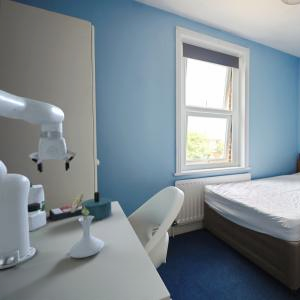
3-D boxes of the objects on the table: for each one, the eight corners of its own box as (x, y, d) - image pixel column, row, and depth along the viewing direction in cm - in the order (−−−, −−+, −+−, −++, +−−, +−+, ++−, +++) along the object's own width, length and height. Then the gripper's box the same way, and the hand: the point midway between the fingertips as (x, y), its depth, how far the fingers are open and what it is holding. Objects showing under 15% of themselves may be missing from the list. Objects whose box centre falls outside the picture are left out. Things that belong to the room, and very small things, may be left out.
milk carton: (22, 219, 112) (19, 183, 110) (44, 215, 118) (42, 180, 117) (23, 224, 106) (20, 185, 104) (46, 219, 112) (44, 183, 111)
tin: (112, 218, 114) (111, 203, 113) (82, 224, 106) (81, 208, 106) (110, 211, 125) (110, 197, 125) (83, 215, 118) (82, 201, 117)
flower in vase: (74, 247, 84) (72, 187, 82) (106, 242, 88) (104, 184, 86) (62, 266, 72) (59, 196, 70) (100, 260, 76) (97, 193, 74)
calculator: (86, 207, 120) (53, 213, 109) (86, 214, 121) (53, 221, 109) (80, 203, 127) (49, 208, 116) (80, 210, 128) (49, 216, 116)
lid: (113, 204, 113) (112, 193, 113) (80, 209, 105) (79, 197, 105) (111, 198, 125) (110, 187, 125) (81, 202, 118) (81, 191, 117)
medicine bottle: (46, 224, 105) (45, 201, 105) (32, 231, 98) (31, 206, 98) (34, 224, 106) (32, 201, 105) (18, 230, 99) (17, 205, 98)
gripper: (25, 135, 91) (27, 174, 92) (74, 135, 100) (75, 170, 101) (30, 135, 97) (32, 171, 98) (75, 135, 106) (76, 168, 108)
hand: (54, 171), depth 100 cm, fingers open, 9 cm apart
